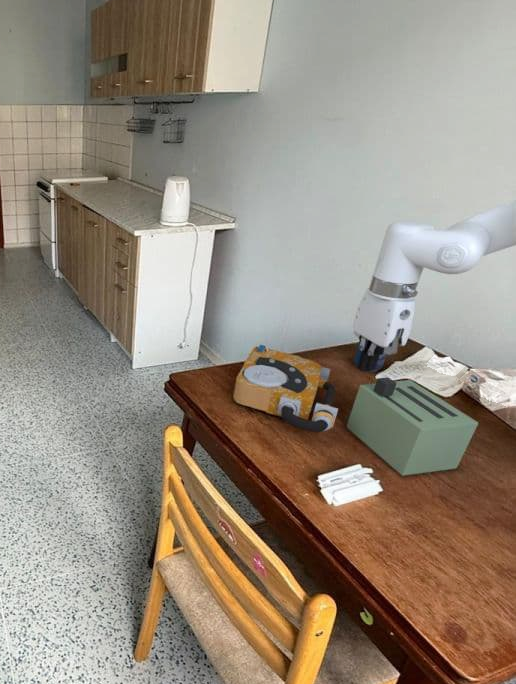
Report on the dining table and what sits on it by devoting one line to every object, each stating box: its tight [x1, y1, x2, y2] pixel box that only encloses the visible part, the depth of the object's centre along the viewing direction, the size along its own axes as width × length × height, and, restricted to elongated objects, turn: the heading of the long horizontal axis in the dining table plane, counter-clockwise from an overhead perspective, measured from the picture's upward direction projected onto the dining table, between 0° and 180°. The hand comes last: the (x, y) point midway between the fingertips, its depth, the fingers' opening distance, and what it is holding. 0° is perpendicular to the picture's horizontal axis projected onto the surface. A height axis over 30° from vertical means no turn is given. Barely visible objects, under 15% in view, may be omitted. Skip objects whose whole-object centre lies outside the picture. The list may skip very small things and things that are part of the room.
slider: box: [374, 376, 397, 397], centre depth 96 cm, size 2×2×3 cm
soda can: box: [353, 340, 388, 372], centre depth 126 cm, size 7×7×12 cm
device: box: [233, 344, 339, 433], centre depth 112 cm, size 23×8×30 cm
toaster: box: [346, 379, 479, 476], centre depth 96 cm, size 12×16×11 cm
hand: (365, 369), depth 100 cm, fingers closed
